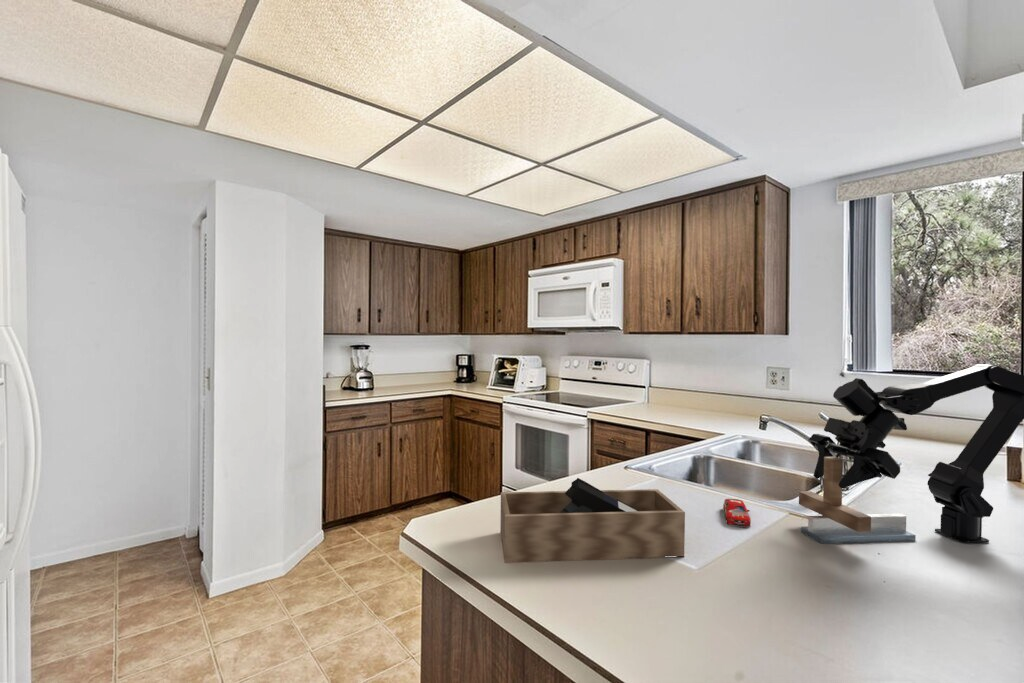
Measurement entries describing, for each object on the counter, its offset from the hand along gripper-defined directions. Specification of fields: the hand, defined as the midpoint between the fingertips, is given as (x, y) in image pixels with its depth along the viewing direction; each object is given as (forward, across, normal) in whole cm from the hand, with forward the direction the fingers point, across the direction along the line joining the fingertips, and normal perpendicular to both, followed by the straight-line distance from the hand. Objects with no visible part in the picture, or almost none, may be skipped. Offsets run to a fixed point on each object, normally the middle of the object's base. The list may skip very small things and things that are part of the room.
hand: (827, 482), depth 104 cm
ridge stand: (+4, 0, +14) cm, 14 cm away
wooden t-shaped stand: (+4, 0, +6) cm, 8 cm away
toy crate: (+46, -5, -29) cm, 55 cm away
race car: (+18, -13, 0) cm, 22 cm away
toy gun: (+44, -6, -26) cm, 51 cm away
